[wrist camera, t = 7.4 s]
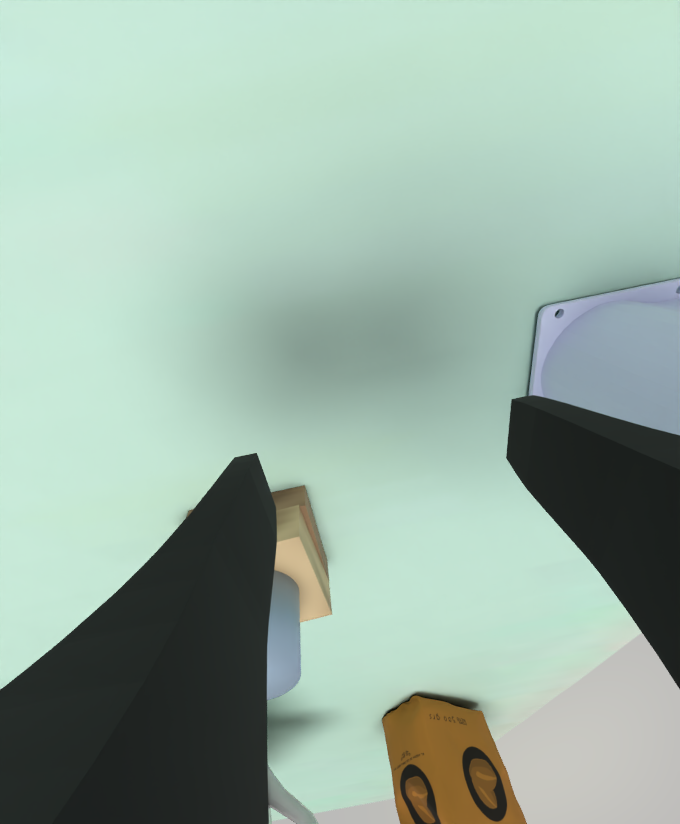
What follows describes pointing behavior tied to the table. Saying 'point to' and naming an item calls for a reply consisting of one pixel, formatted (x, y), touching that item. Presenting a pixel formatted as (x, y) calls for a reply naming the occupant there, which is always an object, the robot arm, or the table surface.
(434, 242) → the table surface
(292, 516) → the oak slab
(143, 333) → the table surface
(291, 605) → the round block
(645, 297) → the robot arm
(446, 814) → the coffee package
